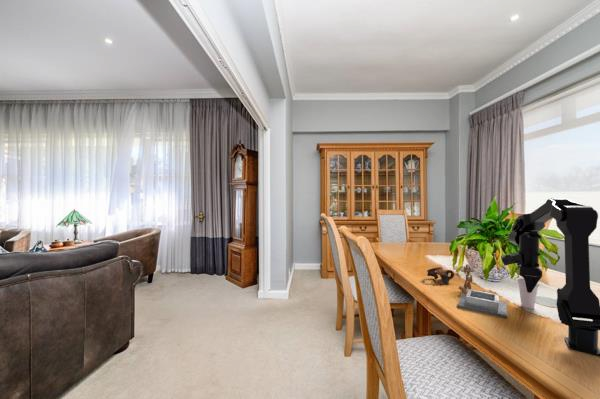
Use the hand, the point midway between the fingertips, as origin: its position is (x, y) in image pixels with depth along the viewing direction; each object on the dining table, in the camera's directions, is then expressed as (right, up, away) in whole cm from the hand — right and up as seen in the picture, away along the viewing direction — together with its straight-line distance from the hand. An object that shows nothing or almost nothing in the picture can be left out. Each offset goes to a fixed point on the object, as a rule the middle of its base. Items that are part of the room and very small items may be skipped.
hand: (528, 289), depth 102 cm
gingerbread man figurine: (-13, -7, +16) cm, 22 cm away
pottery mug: (-18, -7, +29) cm, 35 cm away
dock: (-17, -7, +1) cm, 18 cm away
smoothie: (0, -7, 0) cm, 7 cm away
